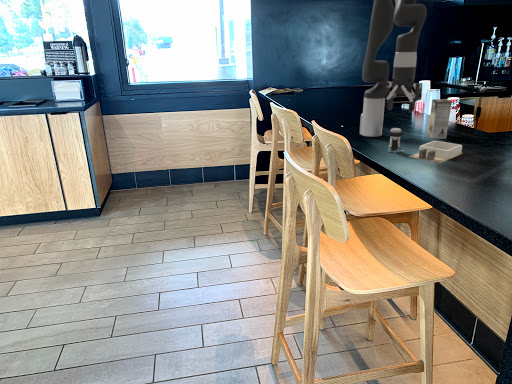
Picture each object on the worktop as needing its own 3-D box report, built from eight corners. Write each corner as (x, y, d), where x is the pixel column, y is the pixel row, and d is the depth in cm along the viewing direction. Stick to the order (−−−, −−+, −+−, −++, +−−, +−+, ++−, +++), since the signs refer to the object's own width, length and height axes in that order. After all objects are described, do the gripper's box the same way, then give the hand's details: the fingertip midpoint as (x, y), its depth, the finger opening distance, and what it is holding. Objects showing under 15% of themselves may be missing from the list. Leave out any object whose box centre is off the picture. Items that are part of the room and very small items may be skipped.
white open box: (418, 153, 146) (419, 145, 145) (433, 147, 153) (434, 140, 151) (446, 159, 138) (447, 151, 137) (461, 152, 145) (462, 145, 144)
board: (407, 159, 143) (409, 148, 142) (431, 150, 154) (433, 140, 152) (439, 166, 134) (441, 154, 133) (462, 156, 145) (464, 145, 143)
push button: (402, 152, 152) (405, 127, 148) (405, 156, 147) (408, 130, 143) (385, 152, 153) (387, 127, 149) (387, 156, 148) (390, 130, 144)
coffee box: (427, 134, 180) (431, 99, 174) (441, 134, 179) (447, 99, 173) (431, 138, 171) (436, 102, 166) (446, 138, 170) (452, 102, 164)
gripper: (429, 65, 135) (423, 111, 141) (392, 64, 145) (388, 108, 151) (418, 66, 131) (412, 114, 136) (381, 65, 141) (377, 110, 147)
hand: (400, 111), depth 144 cm, fingers open, 8 cm apart
